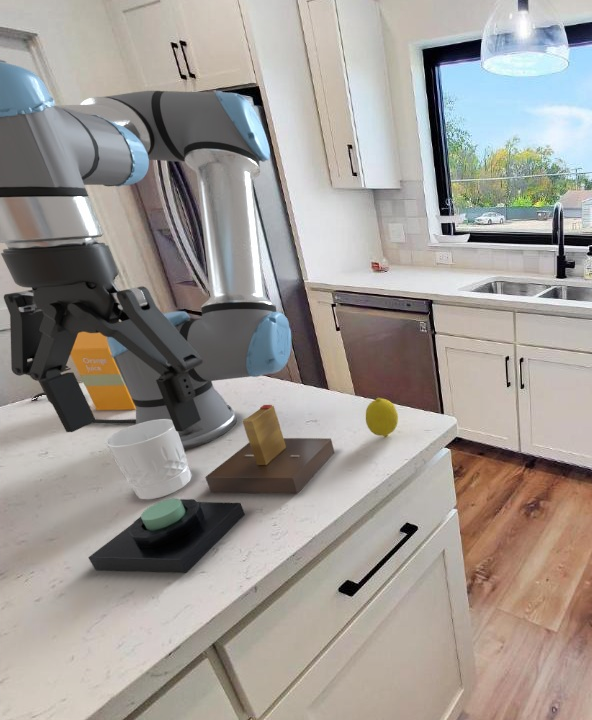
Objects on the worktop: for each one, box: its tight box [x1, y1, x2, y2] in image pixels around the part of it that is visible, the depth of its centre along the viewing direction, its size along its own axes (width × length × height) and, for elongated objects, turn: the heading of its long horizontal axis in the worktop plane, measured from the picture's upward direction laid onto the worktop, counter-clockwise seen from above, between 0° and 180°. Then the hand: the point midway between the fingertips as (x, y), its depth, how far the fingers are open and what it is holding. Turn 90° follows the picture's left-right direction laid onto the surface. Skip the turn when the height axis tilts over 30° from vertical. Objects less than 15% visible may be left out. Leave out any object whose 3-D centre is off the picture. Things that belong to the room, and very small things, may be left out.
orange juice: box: [70, 332, 136, 411], centre depth 92 cm, size 8×9×20 cm
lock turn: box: [241, 404, 286, 465], centre depth 67 cm, size 5×2×8 cm, turn 176°
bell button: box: [140, 498, 186, 530], centre depth 54 cm, size 4×4×2 cm
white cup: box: [105, 419, 192, 501], centre depth 65 cm, size 8×8×10 cm
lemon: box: [365, 397, 399, 438], centre depth 77 cm, size 6×6×8 cm
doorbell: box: [88, 498, 246, 574], centre depth 55 cm, size 12×10×4 cm
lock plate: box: [204, 437, 335, 495], centre depth 69 cm, size 14×11×3 cm
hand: (135, 426), depth 50 cm, fingers open, 13 cm apart
